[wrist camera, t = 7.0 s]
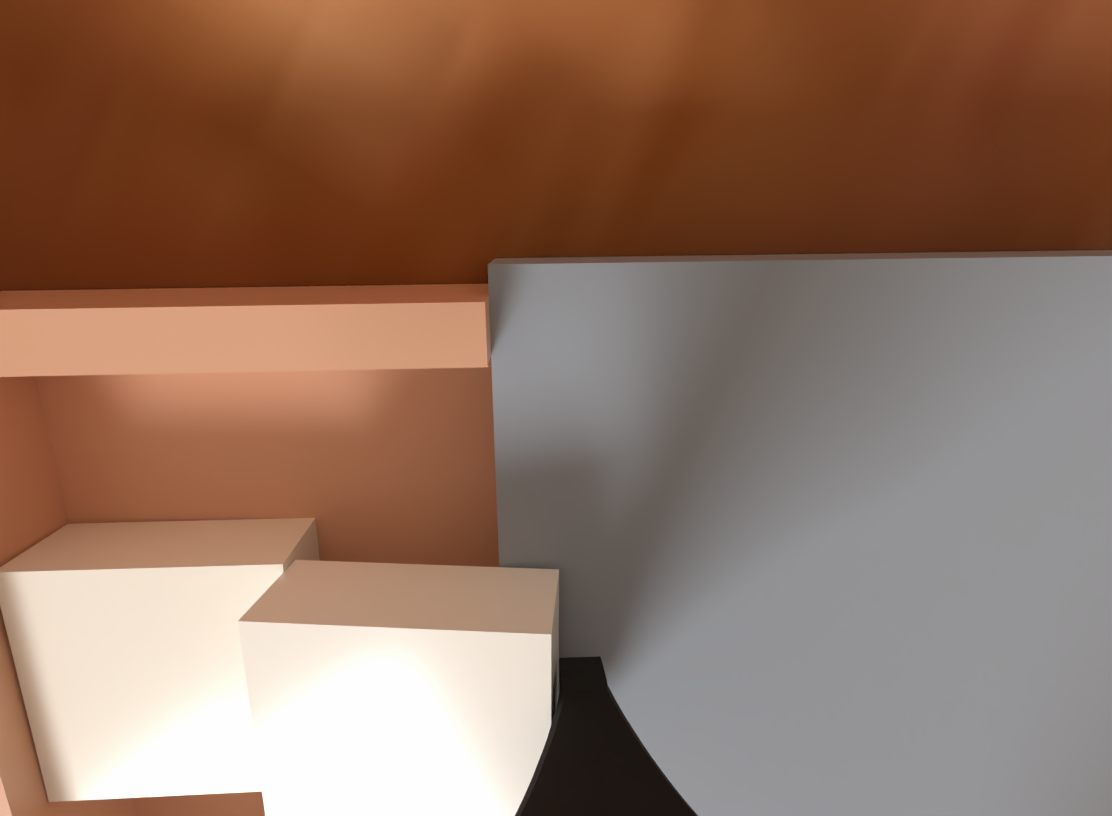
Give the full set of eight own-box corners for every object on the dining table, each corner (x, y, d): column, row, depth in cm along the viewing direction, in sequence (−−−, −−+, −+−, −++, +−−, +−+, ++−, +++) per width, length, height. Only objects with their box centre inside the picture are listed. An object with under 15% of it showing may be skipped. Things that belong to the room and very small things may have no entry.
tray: (516, 858, 17) (513, 1013, 14) (130, 876, 17) (28, 1041, 13) (495, 283, 13) (484, 302, 10) (-14, 291, 13) (-211, 312, 9)
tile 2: (335, 717, 15) (309, 788, 13) (110, 727, 15) (48, 801, 13) (315, 517, 14) (283, 564, 12) (67, 523, 13) (-8, 572, 11)
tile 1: (557, 789, 13) (550, 884, 11) (319, 775, 13) (272, 866, 12) (558, 569, 12) (551, 634, 10) (295, 559, 12) (237, 621, 10)
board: (1061, 845, 18) (1145, 942, 15) (517, 873, 17) (515, 977, 15) (1213, 249, 13) (1362, 252, 11) (495, 258, 13) (487, 264, 10)
